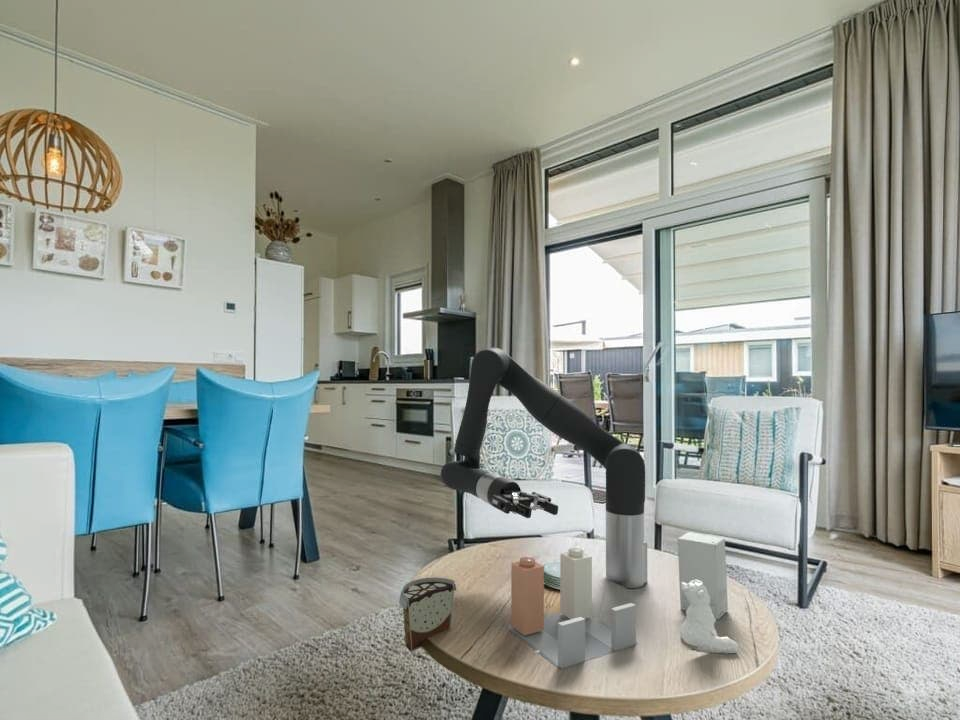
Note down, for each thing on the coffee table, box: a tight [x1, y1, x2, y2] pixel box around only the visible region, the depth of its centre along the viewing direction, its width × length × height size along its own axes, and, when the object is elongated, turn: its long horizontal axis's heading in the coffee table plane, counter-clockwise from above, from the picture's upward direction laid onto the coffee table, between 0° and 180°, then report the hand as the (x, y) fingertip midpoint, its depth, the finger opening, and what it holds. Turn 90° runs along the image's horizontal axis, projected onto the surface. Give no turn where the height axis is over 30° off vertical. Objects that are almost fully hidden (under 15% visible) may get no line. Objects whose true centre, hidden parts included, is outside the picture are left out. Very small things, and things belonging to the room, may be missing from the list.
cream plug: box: [559, 547, 593, 619], centre depth 106 cm, size 4×4×13 cm
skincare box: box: [677, 531, 729, 621], centre depth 113 cm, size 8×7×16 cm
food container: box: [398, 577, 457, 653], centre depth 100 cm, size 12×6×10 cm, turn 135°
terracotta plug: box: [510, 556, 545, 636], centre depth 101 cm, size 4×4×13 cm
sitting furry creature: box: [679, 580, 739, 654], centre depth 98 cm, size 10×9×12 cm
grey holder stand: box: [505, 602, 639, 671], centre depth 98 cm, size 18×17×8 cm
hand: (543, 512), depth 117 cm, fingers open, 8 cm apart
